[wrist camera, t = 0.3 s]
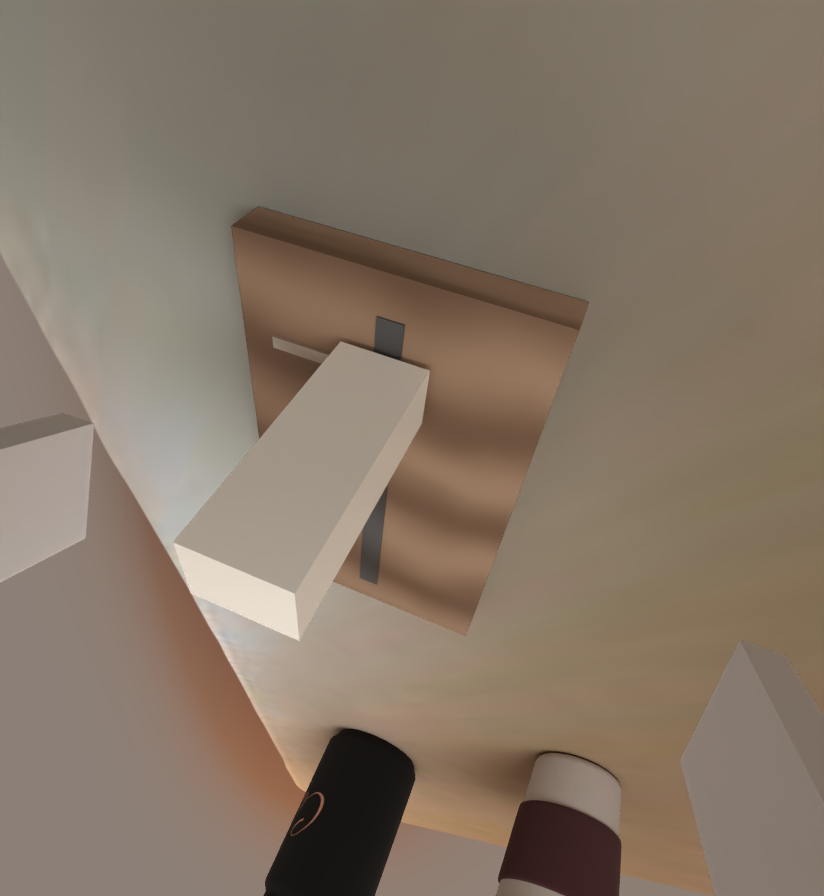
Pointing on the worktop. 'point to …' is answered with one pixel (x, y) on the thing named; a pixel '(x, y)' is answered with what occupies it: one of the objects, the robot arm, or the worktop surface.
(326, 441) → the fader tab
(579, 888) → the coffee cup
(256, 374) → the board
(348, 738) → the coffee jar
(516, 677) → the worktop surface
